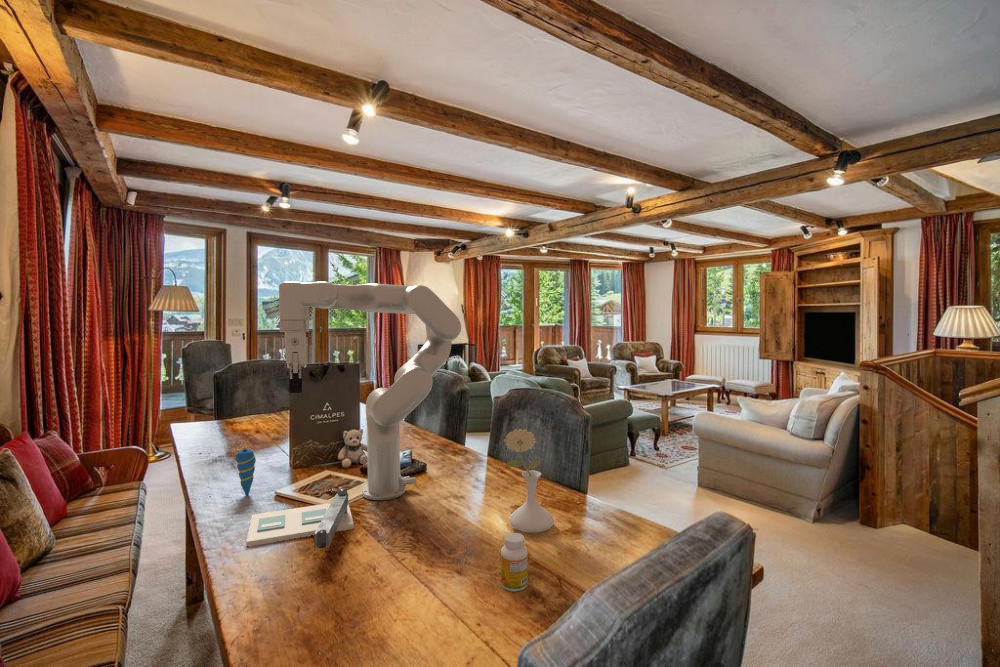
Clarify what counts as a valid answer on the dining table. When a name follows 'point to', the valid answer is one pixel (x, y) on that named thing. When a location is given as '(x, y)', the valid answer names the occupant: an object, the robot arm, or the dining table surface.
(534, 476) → the flower in vase
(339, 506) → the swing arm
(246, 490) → the ornament
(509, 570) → the supplement bottle
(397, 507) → the dining table surface
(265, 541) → the label board
